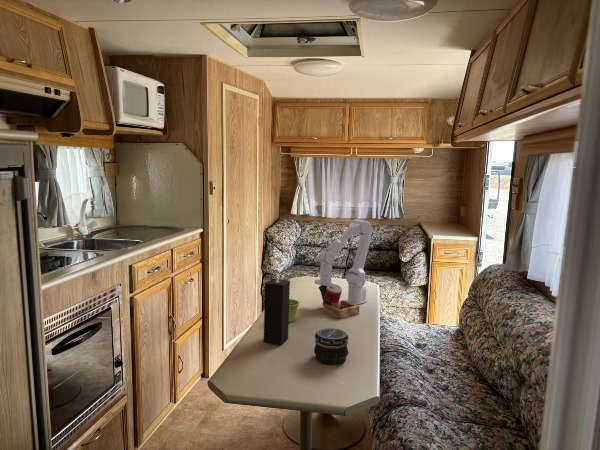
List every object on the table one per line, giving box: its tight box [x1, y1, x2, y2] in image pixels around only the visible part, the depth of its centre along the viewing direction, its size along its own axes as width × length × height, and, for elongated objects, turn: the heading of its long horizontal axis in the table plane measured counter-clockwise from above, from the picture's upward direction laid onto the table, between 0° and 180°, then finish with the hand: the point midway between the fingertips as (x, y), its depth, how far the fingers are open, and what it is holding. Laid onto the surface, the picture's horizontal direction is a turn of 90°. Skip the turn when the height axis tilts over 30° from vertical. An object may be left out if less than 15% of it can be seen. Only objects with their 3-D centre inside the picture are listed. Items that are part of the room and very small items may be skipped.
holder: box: [323, 299, 360, 320], centre depth 213 cm, size 13×12×4 cm
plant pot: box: [289, 298, 300, 323], centre depth 201 cm, size 9×9×9 cm
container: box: [313, 327, 349, 366], centre depth 162 cm, size 13×13×10 cm
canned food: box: [322, 283, 343, 308], centre depth 218 cm, size 8×8×11 cm
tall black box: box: [263, 273, 291, 346], centre depth 175 cm, size 8×8×28 cm
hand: (324, 300), depth 223 cm, fingers closed
